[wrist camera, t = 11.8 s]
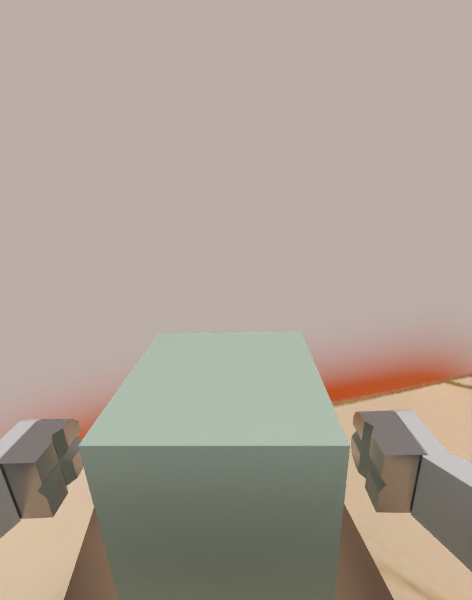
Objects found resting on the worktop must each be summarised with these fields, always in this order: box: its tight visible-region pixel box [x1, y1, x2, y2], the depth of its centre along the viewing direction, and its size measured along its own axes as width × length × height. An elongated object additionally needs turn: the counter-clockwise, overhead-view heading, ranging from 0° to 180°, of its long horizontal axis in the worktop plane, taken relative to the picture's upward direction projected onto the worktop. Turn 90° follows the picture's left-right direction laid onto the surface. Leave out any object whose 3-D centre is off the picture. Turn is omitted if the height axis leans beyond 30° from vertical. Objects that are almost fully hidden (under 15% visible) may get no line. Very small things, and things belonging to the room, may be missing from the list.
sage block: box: [78, 331, 350, 600], centre depth 8 cm, size 4×4×10 cm
